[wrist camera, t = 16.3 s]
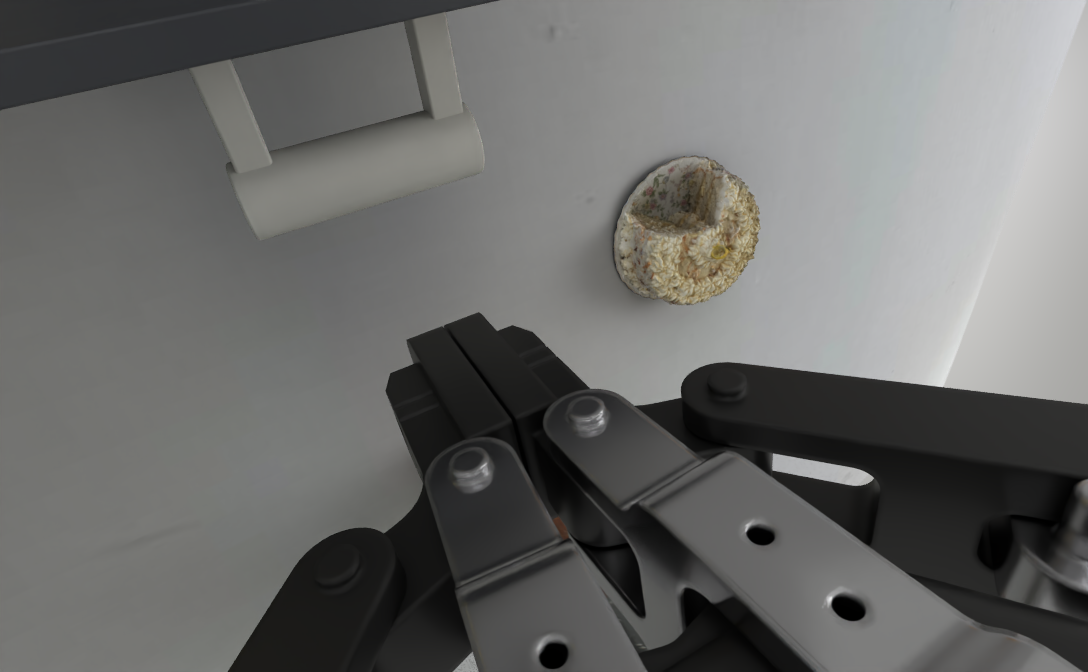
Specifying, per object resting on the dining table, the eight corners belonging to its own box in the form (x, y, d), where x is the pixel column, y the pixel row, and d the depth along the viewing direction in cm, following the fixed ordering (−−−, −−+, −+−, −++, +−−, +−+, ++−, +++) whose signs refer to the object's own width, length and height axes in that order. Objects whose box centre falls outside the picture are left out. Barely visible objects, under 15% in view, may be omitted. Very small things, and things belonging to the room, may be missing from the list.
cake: (748, 228, 44) (806, 255, 40) (648, 322, 44) (696, 359, 40) (702, 119, 38) (766, 139, 33) (585, 229, 37) (635, 262, 33)
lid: (-246, 97, 7) (8, 370, 10) (692, -86, 11) (680, 149, 14) (1, -48, 19) (86, 99, 22) (418, -113, 23) (443, 19, 26)
